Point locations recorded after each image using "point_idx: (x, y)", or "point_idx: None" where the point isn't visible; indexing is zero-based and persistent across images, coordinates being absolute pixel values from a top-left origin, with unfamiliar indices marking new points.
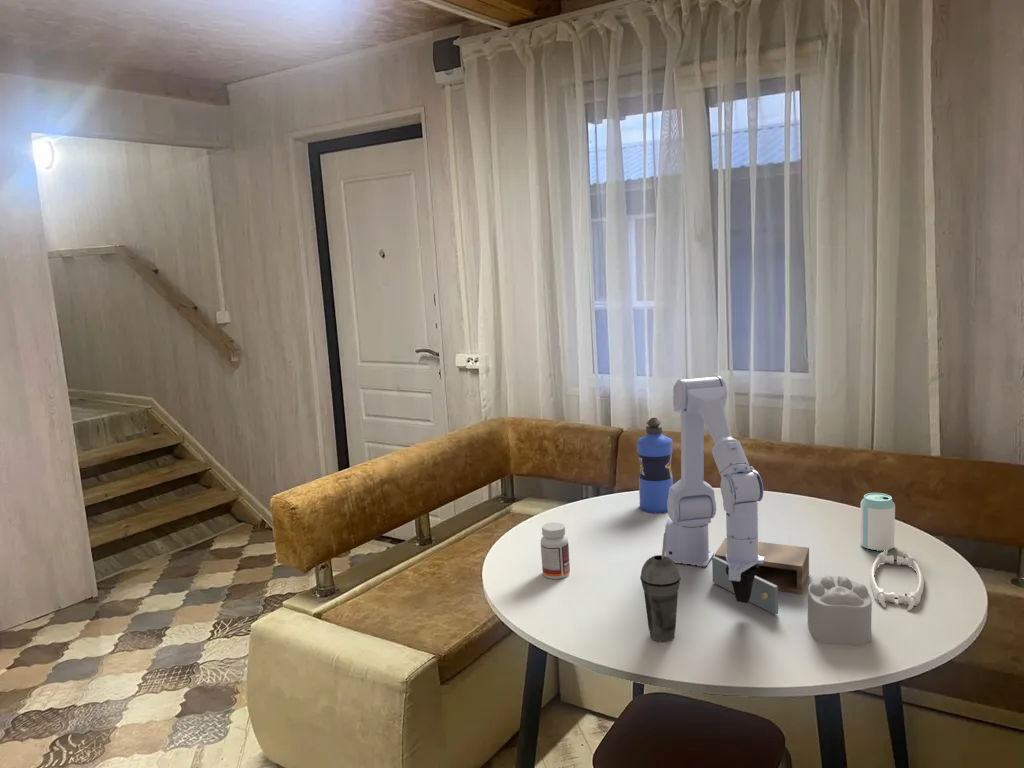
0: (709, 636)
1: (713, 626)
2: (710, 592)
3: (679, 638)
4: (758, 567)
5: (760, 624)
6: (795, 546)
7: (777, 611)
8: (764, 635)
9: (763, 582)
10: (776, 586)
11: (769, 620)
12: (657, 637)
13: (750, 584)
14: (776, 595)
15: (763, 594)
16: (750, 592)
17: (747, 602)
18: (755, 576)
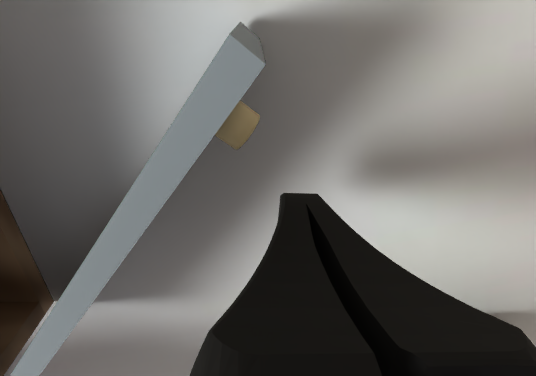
0: (469, 245)
1: (399, 248)
2: (149, 296)
3: (478, 303)
4: (337, 373)
5: (362, 97)
6: None
7: (243, 25)
8: (469, 64)
9: (185, 173)
10: (240, 48)
11: (313, 60)
12: None
13: (407, 272)
14: (248, 39)
15: (249, 135)
16: (308, 216)
17: (318, 196)
18: (112, 240)
